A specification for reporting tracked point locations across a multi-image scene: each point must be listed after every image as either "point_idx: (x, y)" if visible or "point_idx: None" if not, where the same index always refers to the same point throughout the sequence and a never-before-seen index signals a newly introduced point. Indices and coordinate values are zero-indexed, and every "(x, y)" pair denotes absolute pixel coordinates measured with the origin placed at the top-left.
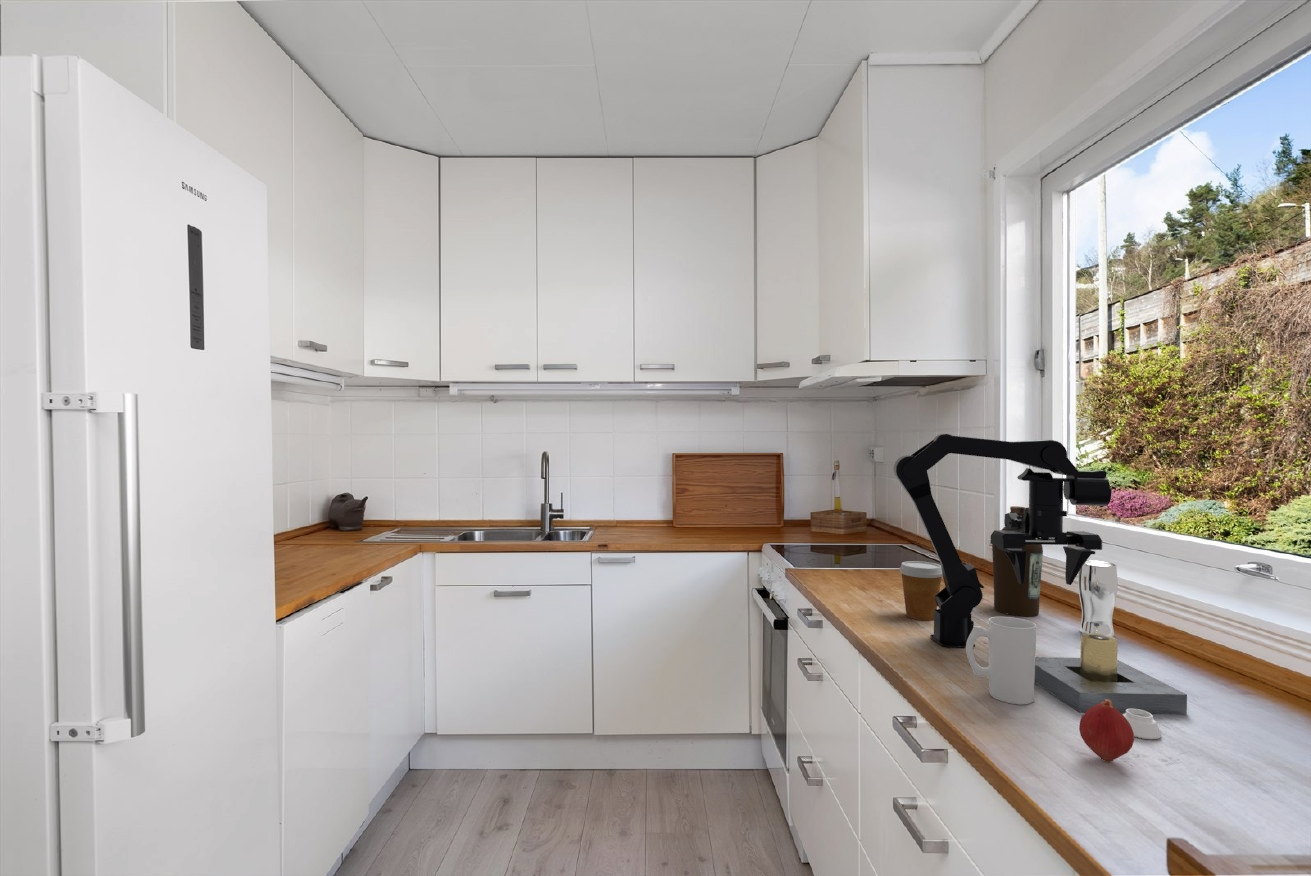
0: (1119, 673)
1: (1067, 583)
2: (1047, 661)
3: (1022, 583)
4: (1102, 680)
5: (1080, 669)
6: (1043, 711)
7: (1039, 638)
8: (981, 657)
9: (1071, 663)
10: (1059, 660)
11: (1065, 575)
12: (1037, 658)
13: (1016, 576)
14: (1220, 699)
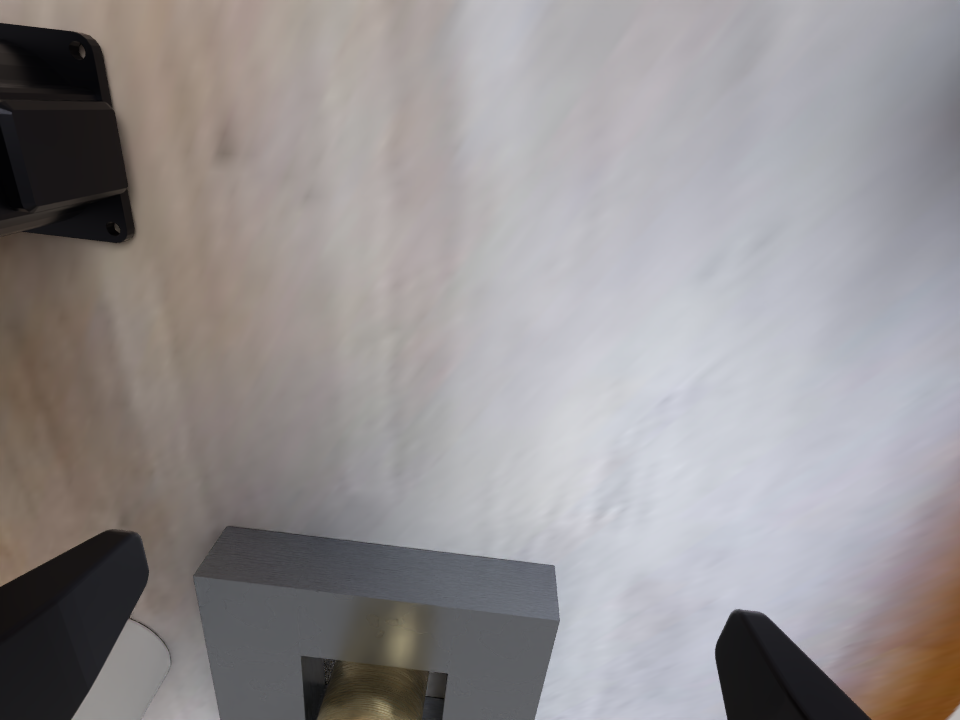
0: (447, 711)
1: (728, 633)
2: (265, 618)
3: (134, 586)
4: None
5: (324, 698)
6: (169, 707)
7: (625, 71)
8: (130, 363)
9: (344, 640)
10: (318, 615)
11: (792, 702)
12: (243, 593)
13: (12, 593)
14: (702, 711)
